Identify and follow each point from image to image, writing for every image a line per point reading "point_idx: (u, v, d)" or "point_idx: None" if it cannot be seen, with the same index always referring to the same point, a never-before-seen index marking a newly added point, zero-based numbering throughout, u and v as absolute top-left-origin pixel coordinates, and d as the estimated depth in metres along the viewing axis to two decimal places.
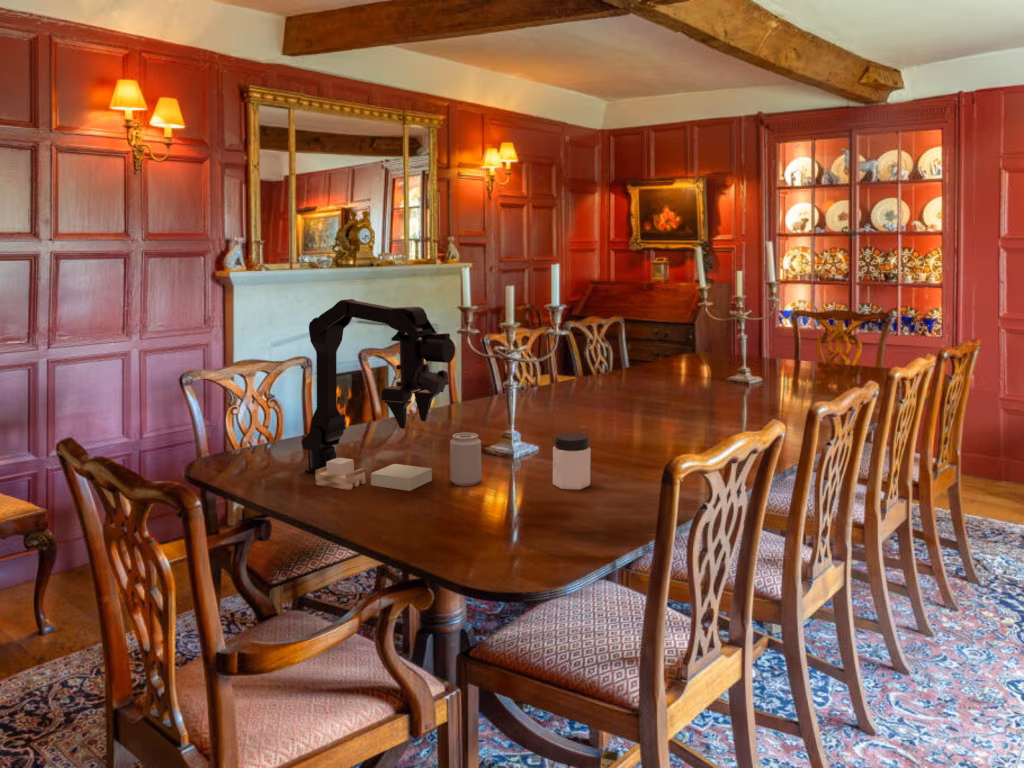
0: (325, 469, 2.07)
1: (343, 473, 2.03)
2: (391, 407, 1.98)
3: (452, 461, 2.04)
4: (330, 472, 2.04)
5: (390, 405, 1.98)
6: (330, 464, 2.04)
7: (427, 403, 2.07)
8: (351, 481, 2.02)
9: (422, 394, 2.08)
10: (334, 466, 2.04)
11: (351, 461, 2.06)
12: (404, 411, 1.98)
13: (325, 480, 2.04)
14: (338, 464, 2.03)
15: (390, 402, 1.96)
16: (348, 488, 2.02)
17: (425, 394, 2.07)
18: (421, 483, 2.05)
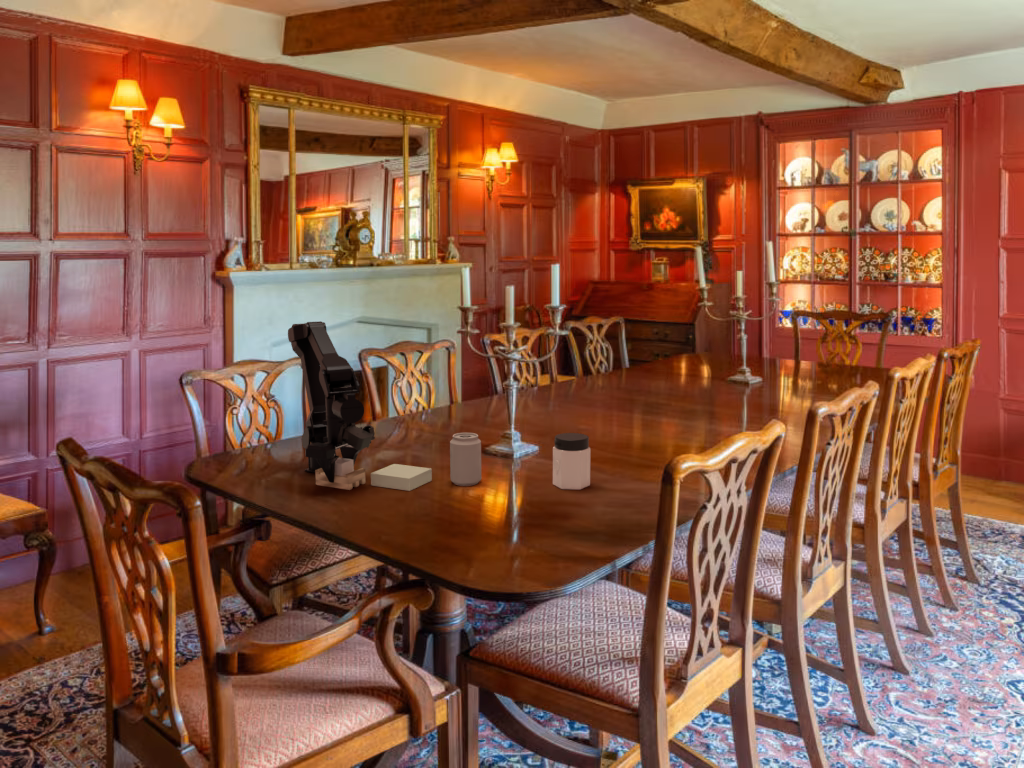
0: None
1: (343, 473, 2.03)
2: (320, 462, 2.02)
3: (452, 461, 2.04)
4: None
5: (319, 460, 2.02)
6: None
7: (352, 458, 2.08)
8: (351, 481, 2.02)
9: (347, 449, 2.09)
10: None
11: (351, 461, 2.06)
12: (332, 466, 2.01)
13: (325, 480, 2.04)
14: (338, 464, 2.03)
15: (318, 457, 2.00)
16: (348, 488, 2.02)
17: (350, 449, 2.08)
18: (421, 483, 2.05)
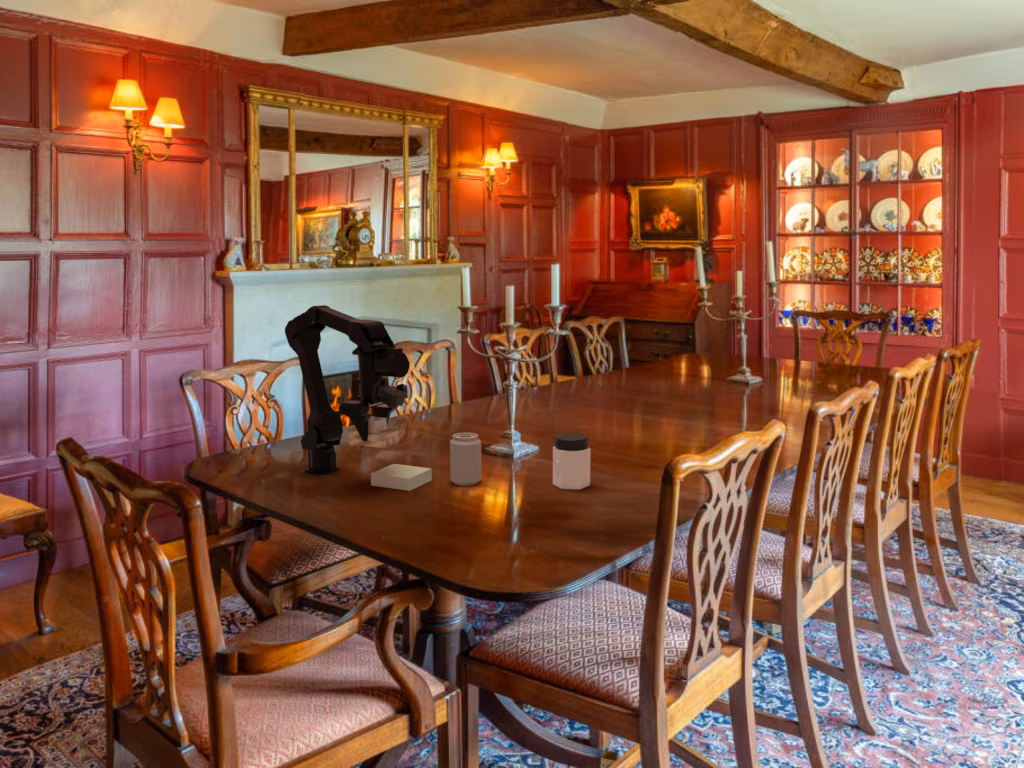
0: None
1: (376, 431, 2.02)
2: (353, 420, 2.00)
3: (452, 461, 2.04)
4: None
5: (352, 418, 2.00)
6: None
7: (385, 417, 2.07)
8: (384, 439, 2.00)
9: (380, 408, 2.07)
10: None
11: (384, 419, 2.04)
12: (366, 424, 1.99)
13: (358, 439, 2.03)
14: (371, 422, 2.01)
15: (351, 415, 1.98)
16: (381, 446, 2.00)
17: (383, 408, 2.07)
18: (421, 483, 2.05)
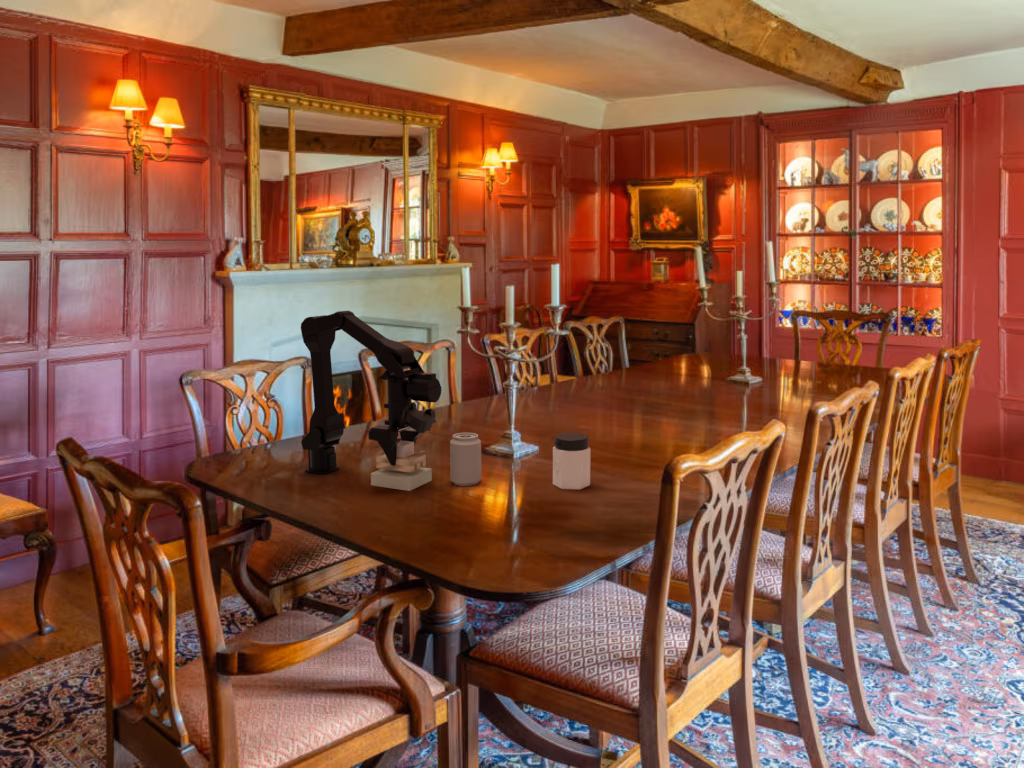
0: None
1: (404, 455, 2.03)
2: (382, 445, 2.02)
3: (452, 461, 2.04)
4: None
5: (381, 443, 2.01)
6: None
7: (412, 441, 2.08)
8: (413, 463, 2.02)
9: (407, 432, 2.09)
10: None
11: (412, 443, 2.06)
12: (394, 449, 2.01)
13: (386, 463, 2.04)
14: (399, 447, 2.03)
15: (380, 440, 1.99)
16: (410, 470, 2.01)
17: (410, 432, 2.08)
18: (421, 483, 2.05)
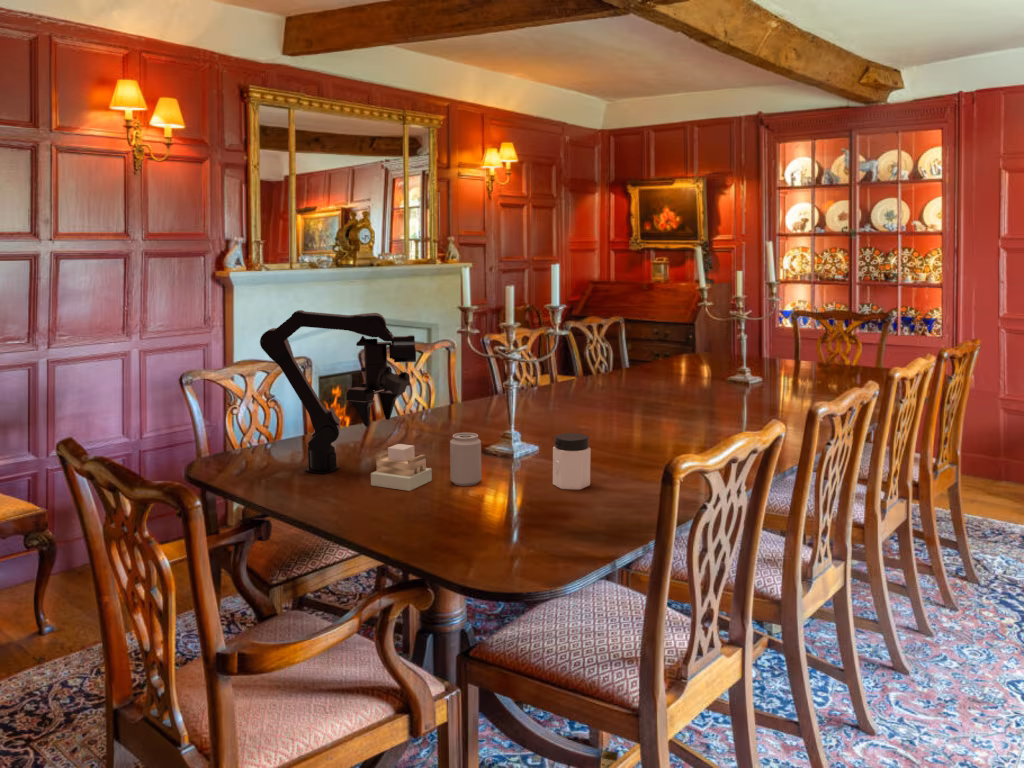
0: (385, 455, 2.07)
1: (405, 459, 2.04)
2: (356, 406, 2.13)
3: (452, 461, 2.04)
4: (392, 458, 2.05)
5: (355, 405, 2.13)
6: (392, 450, 2.04)
7: (391, 403, 2.22)
8: (413, 467, 2.02)
9: (386, 394, 2.22)
10: (396, 452, 2.04)
11: (412, 447, 2.06)
12: (368, 410, 2.12)
13: (387, 466, 2.04)
14: (400, 450, 2.03)
15: (354, 402, 2.11)
16: (410, 474, 2.02)
17: (389, 394, 2.22)
18: (421, 483, 2.05)
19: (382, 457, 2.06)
